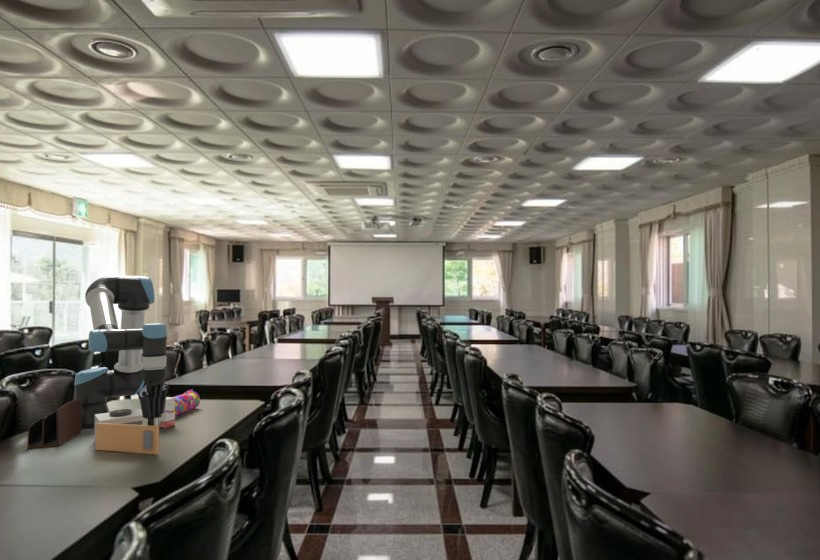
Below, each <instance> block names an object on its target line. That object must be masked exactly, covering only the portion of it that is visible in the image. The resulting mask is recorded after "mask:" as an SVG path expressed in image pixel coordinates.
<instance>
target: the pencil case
mask: <svg viewBox="0 0 820 560" xmlns="http://www.w3.org/2000/svg"><path fill="white" fill-rule="evenodd" d="M171 397H172V398H175V418H176V417H178V416H179V415H180V414H181V415H182V414H185V413H188V412H190V411H192V410H194V408H195V409H197V408H198V407H199V405H200V403H201V399H200V395H199V393H198V392H197V391H194V389H188V390H187V391H185V392H184V393H183V394H178V395H175V396H171ZM196 407H197V408H196ZM187 411H188V412H187ZM177 415H178V416H177Z"/></svg>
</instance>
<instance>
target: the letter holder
mask: <svg viewBox="0 0 820 560" xmlns="http://www.w3.org/2000/svg"><path fill="white" fill-rule="evenodd" d="M27 431H28V432H27V444H26V445H27V446H26V448H27V450H29V448H31V449H42V448H45V447H46V448H57V447H60V446H62V445H63V444H65V443H66V442H68V441H70V440H71V439H73V438H74V436H75V437H76V436H77V435H80V434H81V433H82V429H81V401H80V400H74V399H73V400H71V401H69V402H66V403H64V404H63V405H61V406H60V407H59V408H57V409H56V410H54V411H52V412H50V413H49V414H47V415H46V416H44V417H41V418H39V419H37V420H36V421H33V423H32V424H30V426H29V427H28V430H27ZM61 444H62V445H61ZM46 448H45V449H46Z"/></svg>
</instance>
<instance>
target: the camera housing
mask: <svg viewBox="0 0 820 560" xmlns="http://www.w3.org/2000/svg"><path fill="white" fill-rule="evenodd" d="M95 423H115V424H134V425H148V419H146V418H143V415H142V409H141V408H135V409H134V408H133V409H130V408H129V409H128V408H124V409H123V408H122V409H116V410H115V409H114V410H111V411H110V413H102V414H95V420H94V428H93V430H94V431H93V432H94V433H93V437H94V438H93V442H94V443H95Z"/></svg>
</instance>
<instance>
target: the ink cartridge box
mask: <svg viewBox="0 0 820 560" xmlns="http://www.w3.org/2000/svg"><path fill="white" fill-rule="evenodd" d="M172 397H173V396H171V397H170V396H166V402H165V408H164V413H163V414H161V415H162V417H159V427H163V428H162V429H168V428H167V427H169V428H171V427H170V426H172V427H174V426H173V425H176V424H175V423H176V422H175V421H176V420H175V419H176V417H175V398H172Z"/></svg>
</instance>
